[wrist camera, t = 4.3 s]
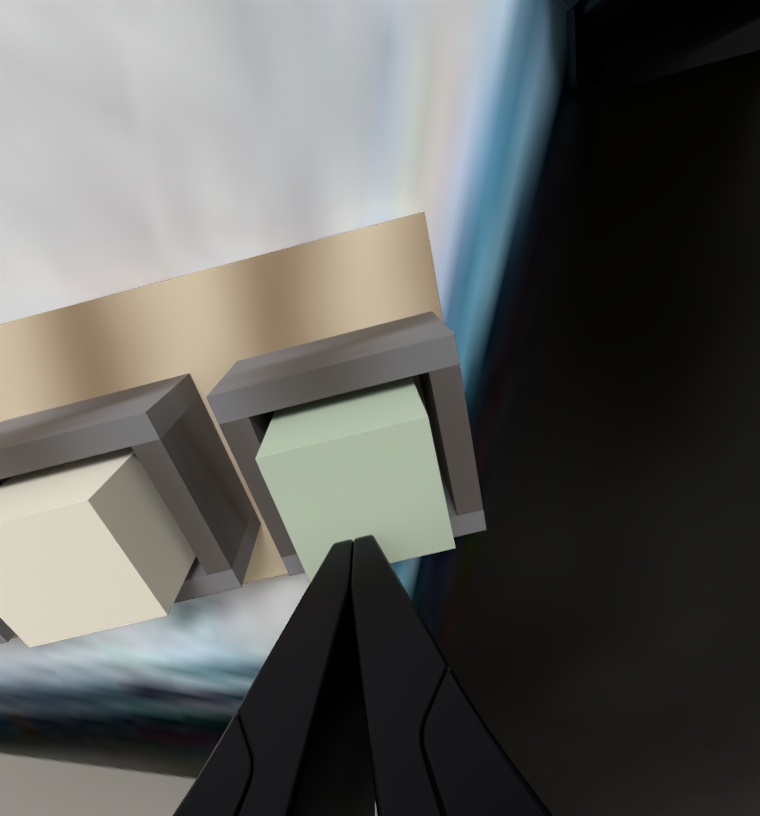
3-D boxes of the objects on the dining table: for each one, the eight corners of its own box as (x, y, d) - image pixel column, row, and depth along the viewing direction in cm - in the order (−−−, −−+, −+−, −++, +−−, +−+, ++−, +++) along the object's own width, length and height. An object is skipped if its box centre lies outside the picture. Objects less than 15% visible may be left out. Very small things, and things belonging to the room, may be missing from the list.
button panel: (417, 213, 12) (448, 206, 8) (470, 509, 17) (504, 589, 13) (-254, 391, 13) (-504, 458, 9) (-18, 625, 18) (-117, 731, 14)
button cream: (145, 440, 12) (87, 500, 9) (203, 541, 13) (167, 615, 11) (18, 472, 12) (-75, 540, 9) (90, 568, 13) (29, 647, 11)
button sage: (409, 374, 11) (428, 416, 9) (434, 485, 13) (455, 547, 10) (276, 408, 11) (254, 458, 9) (317, 513, 13) (309, 582, 10)
